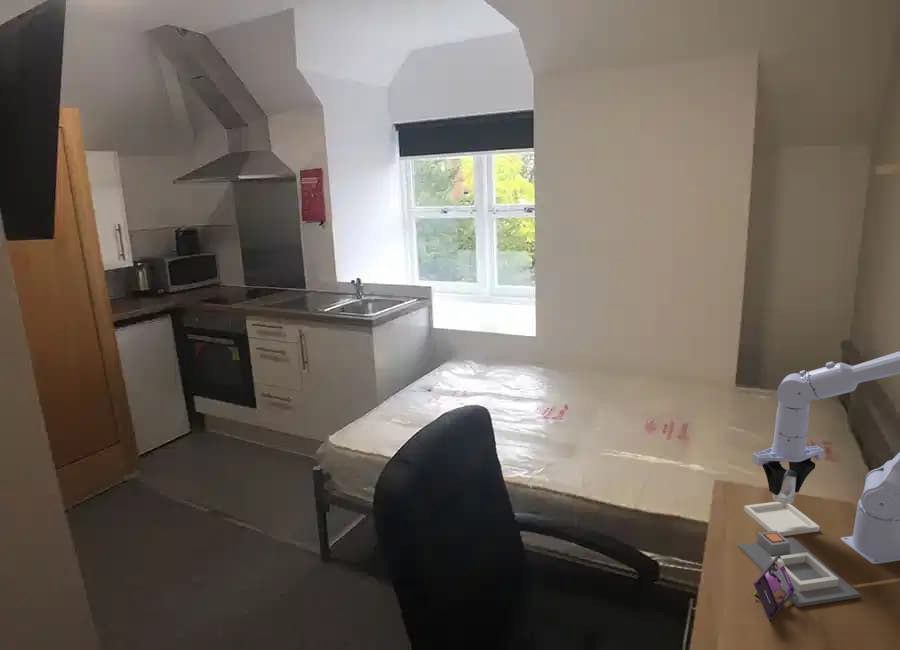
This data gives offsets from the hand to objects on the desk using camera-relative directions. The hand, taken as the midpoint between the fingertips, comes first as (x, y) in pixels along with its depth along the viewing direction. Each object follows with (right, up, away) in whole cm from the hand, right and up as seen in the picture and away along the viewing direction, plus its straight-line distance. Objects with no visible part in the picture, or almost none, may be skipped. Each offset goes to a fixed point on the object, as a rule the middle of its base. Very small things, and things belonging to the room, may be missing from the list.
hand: (783, 491), depth 121 cm
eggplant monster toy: (-14, -13, -20) cm, 28 cm away
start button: (-6, -8, -7) cm, 13 cm away
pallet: (-5, -11, -13) cm, 18 cm away
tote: (0, -7, +2) cm, 7 cm away
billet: (0, -2, 0) cm, 2 cm away
